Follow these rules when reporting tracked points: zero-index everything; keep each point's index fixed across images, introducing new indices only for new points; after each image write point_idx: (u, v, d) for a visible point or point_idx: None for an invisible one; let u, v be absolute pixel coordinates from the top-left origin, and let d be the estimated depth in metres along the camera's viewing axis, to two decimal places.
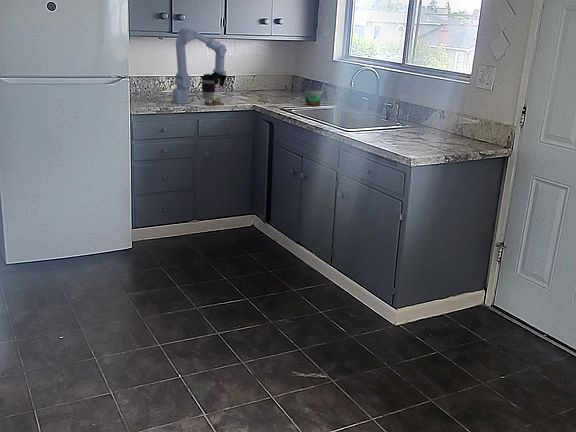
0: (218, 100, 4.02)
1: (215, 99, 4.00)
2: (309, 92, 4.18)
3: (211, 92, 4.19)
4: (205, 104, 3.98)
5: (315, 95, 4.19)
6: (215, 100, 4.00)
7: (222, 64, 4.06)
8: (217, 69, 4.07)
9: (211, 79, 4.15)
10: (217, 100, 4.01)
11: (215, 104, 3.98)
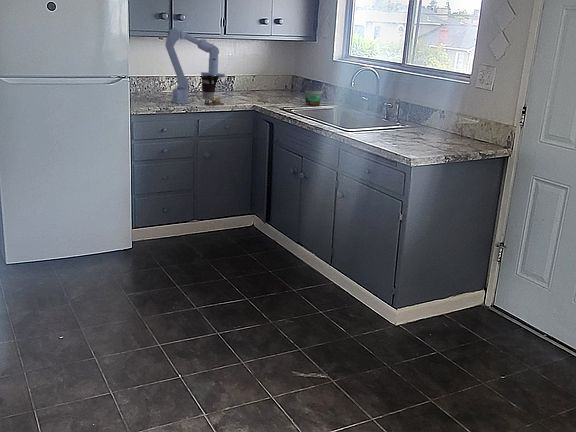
0: (218, 100, 4.02)
1: (215, 99, 4.00)
2: (309, 92, 4.18)
3: (211, 92, 4.19)
4: (205, 104, 3.98)
5: (315, 95, 4.19)
6: (215, 100, 4.00)
7: None
8: None
9: None
10: (217, 100, 4.01)
11: (215, 104, 3.98)
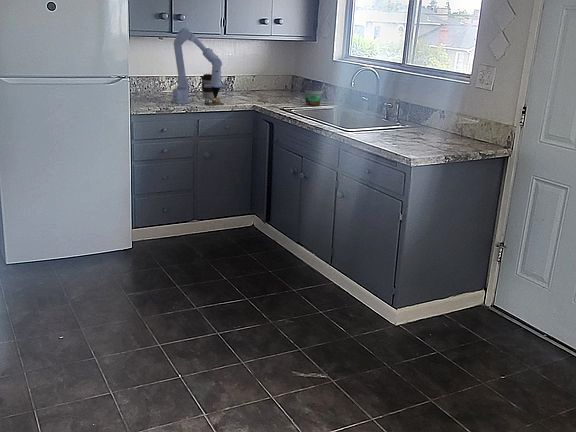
0: (218, 100, 4.02)
1: (215, 99, 4.00)
2: (309, 92, 4.18)
3: (211, 92, 4.19)
4: (205, 104, 3.98)
5: (315, 95, 4.19)
6: (215, 100, 4.00)
7: None
8: None
9: None
10: (217, 100, 4.01)
11: (215, 104, 3.98)
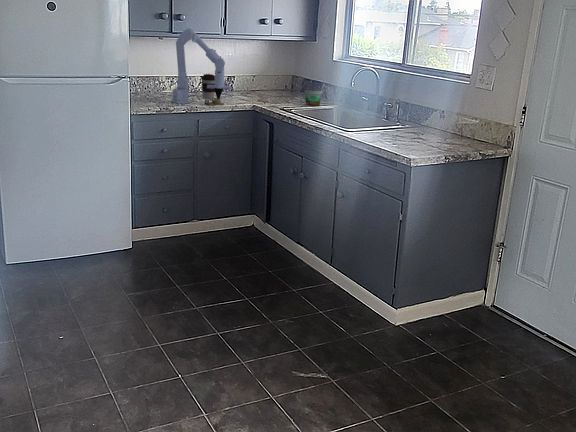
0: (217, 101, 3.99)
1: (214, 99, 3.99)
2: (309, 92, 4.18)
3: (211, 92, 4.19)
4: (205, 104, 3.98)
5: (315, 95, 4.19)
6: (214, 100, 3.99)
7: None
8: None
9: (211, 79, 4.15)
10: (216, 100, 3.99)
11: (215, 104, 3.98)
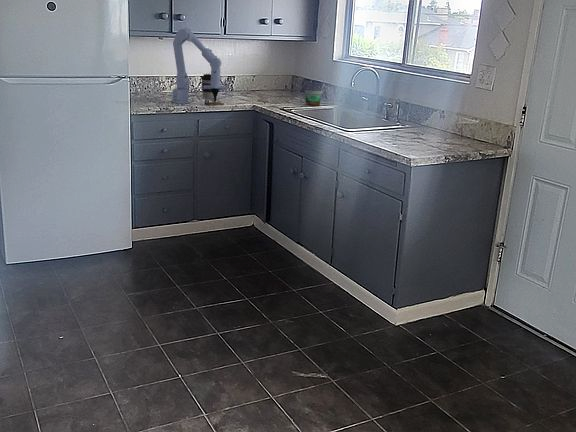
0: (212, 101, 3.97)
1: (212, 99, 3.99)
2: (309, 92, 4.18)
3: (211, 92, 4.19)
4: (205, 104, 3.98)
5: (315, 95, 4.19)
6: None
7: (211, 79, 3.92)
8: None
9: None
10: (212, 100, 3.98)
11: (215, 104, 3.98)
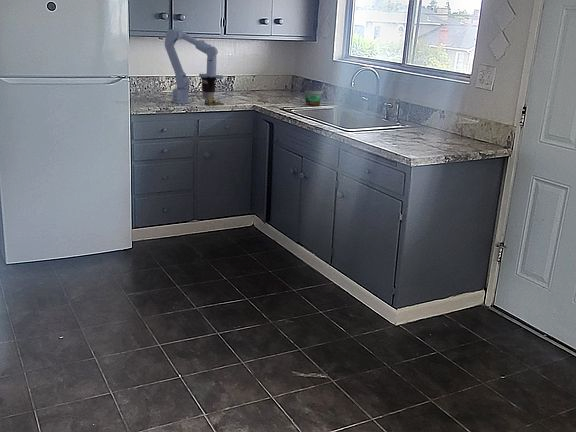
0: None
1: None
2: (309, 92, 4.18)
3: (211, 92, 4.19)
4: (205, 104, 3.98)
5: (315, 95, 4.19)
6: None
7: None
8: None
9: None
10: None
11: (215, 104, 3.98)
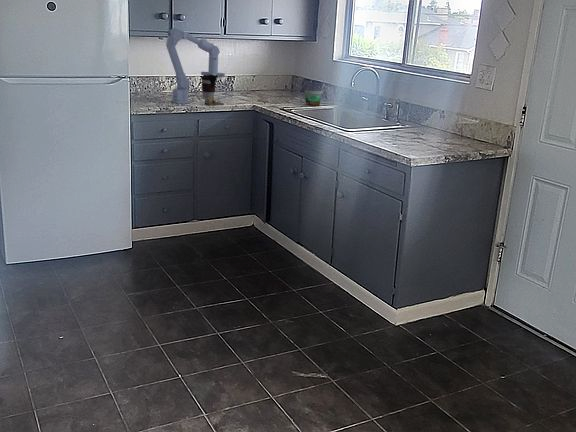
0: None
1: None
2: (309, 92, 4.18)
3: (211, 92, 4.19)
4: (205, 104, 3.98)
5: (315, 95, 4.19)
6: None
7: None
8: None
9: None
10: None
11: (215, 104, 3.98)
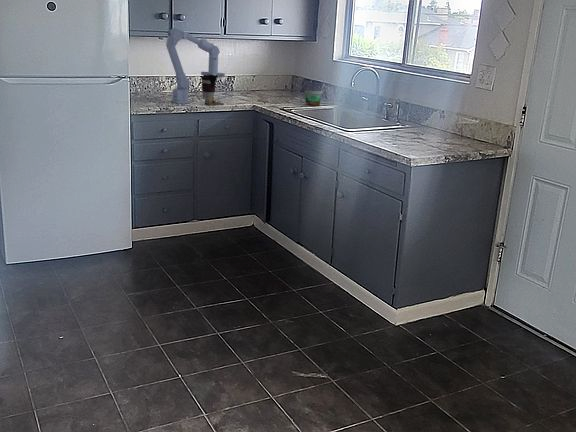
0: None
1: None
2: (309, 92, 4.18)
3: (211, 92, 4.19)
4: (205, 104, 3.98)
5: (315, 95, 4.19)
6: None
7: None
8: None
9: None
10: None
11: (215, 104, 3.98)
